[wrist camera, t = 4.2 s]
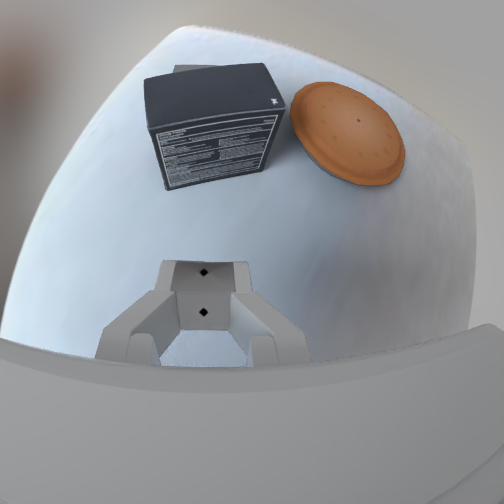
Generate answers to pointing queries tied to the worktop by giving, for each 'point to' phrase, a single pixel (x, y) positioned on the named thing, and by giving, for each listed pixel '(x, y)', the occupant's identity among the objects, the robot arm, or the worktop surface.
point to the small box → (212, 122)
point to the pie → (347, 134)
